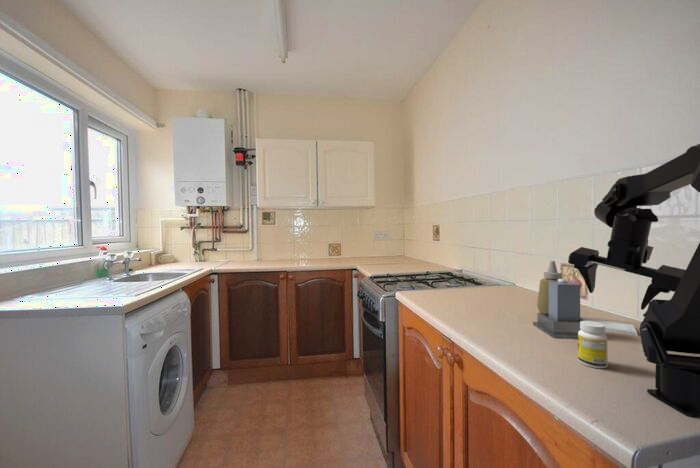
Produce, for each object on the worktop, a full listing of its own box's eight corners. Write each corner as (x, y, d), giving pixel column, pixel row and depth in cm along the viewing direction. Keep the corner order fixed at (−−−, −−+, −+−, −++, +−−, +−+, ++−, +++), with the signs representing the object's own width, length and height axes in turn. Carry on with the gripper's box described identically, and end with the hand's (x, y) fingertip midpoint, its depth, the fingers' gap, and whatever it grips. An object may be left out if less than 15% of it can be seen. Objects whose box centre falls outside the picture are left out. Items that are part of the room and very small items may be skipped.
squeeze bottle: (531, 317, 93) (531, 260, 93) (546, 313, 96) (547, 259, 96) (558, 324, 86) (558, 263, 85) (574, 320, 89) (574, 261, 89)
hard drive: (577, 323, 84) (637, 331, 76) (577, 316, 90) (632, 323, 83) (577, 328, 84) (637, 338, 76) (577, 321, 90) (632, 329, 83)
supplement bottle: (583, 356, 64) (584, 318, 64) (611, 365, 60) (611, 324, 60) (573, 362, 61) (573, 322, 61) (601, 371, 57) (601, 328, 57)
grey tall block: (580, 331, 77) (580, 281, 77) (557, 330, 78) (557, 281, 78) (569, 326, 82) (570, 278, 81) (548, 325, 82) (548, 278, 82)
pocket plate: (599, 339, 74) (599, 323, 74) (552, 337, 75) (552, 321, 75) (574, 326, 84) (574, 311, 84) (533, 324, 86) (533, 310, 86)
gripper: (707, 236, 58) (686, 304, 63) (593, 219, 73) (584, 274, 78) (689, 252, 53) (669, 325, 58) (571, 230, 68) (563, 289, 73)
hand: (615, 300), depth 67 cm, fingers open, 9 cm apart
